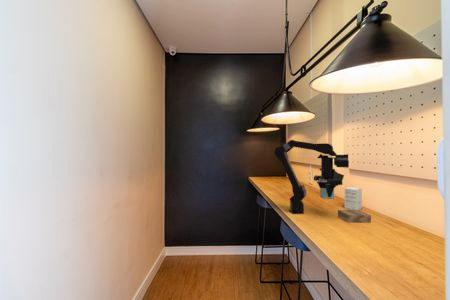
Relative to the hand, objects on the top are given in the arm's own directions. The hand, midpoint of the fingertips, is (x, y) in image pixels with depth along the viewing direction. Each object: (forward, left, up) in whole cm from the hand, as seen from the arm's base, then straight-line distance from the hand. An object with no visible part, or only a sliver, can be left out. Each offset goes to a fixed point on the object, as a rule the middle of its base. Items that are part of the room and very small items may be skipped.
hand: (326, 196), depth 120 cm
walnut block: (+11, -6, -11) cm, 17 cm away
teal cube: (0, 0, -1) cm, 1 cm away
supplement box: (+25, +15, -11) cm, 31 cm away
